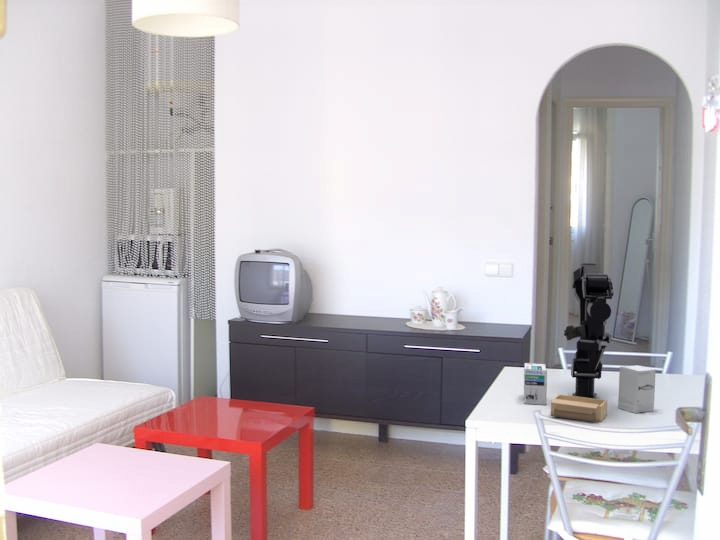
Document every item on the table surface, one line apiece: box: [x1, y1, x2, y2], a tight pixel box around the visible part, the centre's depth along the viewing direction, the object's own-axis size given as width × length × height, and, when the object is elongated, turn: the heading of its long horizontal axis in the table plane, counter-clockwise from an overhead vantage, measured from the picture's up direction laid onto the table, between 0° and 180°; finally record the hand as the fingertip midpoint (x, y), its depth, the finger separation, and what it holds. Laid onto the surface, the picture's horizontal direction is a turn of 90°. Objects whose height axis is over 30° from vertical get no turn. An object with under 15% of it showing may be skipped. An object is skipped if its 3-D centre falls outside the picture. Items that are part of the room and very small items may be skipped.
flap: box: [550, 398, 598, 423], centre depth 213 cm, size 3×13×5 cm, turn 61°
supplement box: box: [617, 364, 657, 414], centre depth 225 cm, size 7×7×13 cm
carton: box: [549, 393, 608, 423], centre depth 218 cm, size 8×14×4 cm, turn 61°
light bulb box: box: [523, 362, 548, 406], centre depth 235 cm, size 11×7×11 cm, turn 168°
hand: (593, 370), depth 223 cm, fingers closed
